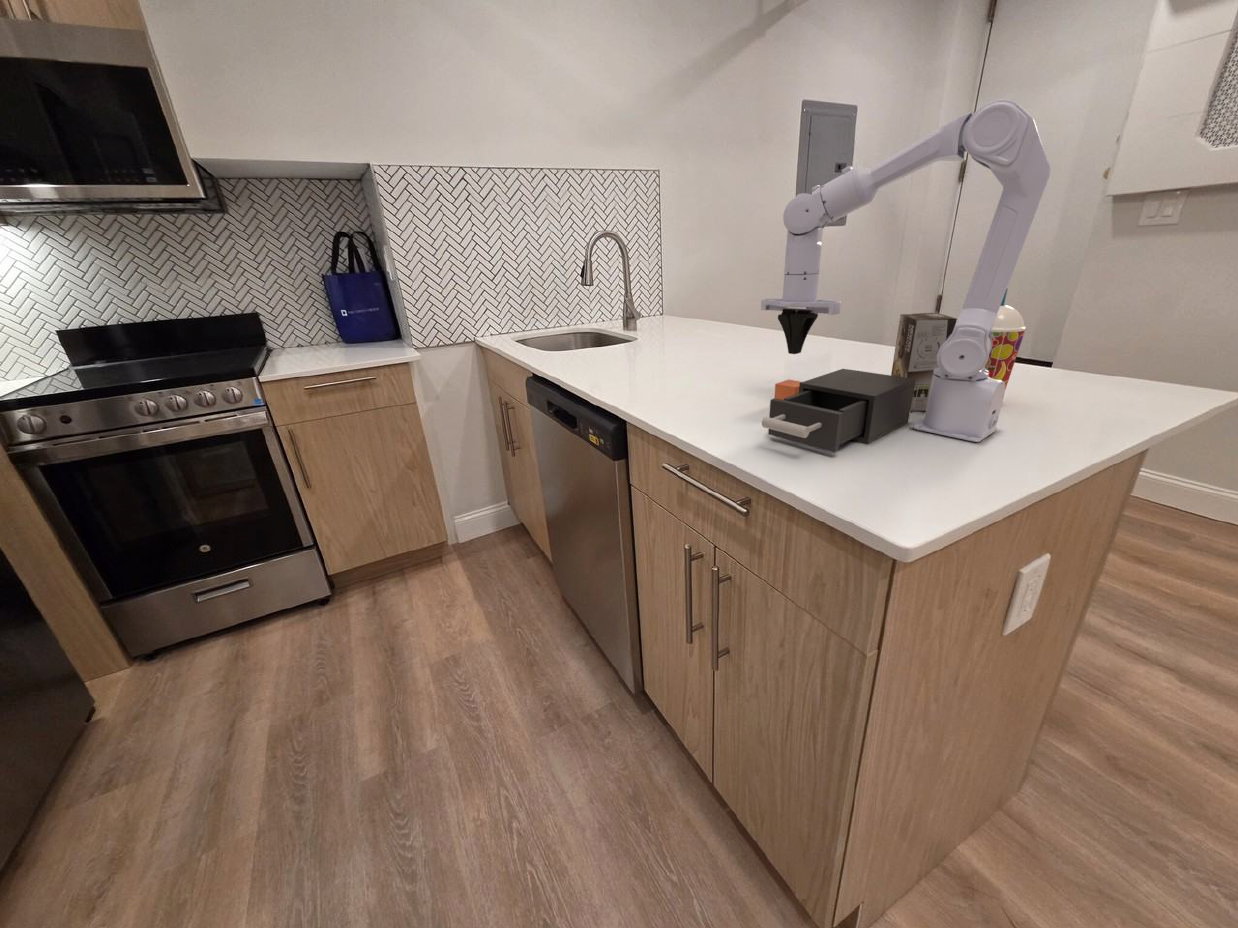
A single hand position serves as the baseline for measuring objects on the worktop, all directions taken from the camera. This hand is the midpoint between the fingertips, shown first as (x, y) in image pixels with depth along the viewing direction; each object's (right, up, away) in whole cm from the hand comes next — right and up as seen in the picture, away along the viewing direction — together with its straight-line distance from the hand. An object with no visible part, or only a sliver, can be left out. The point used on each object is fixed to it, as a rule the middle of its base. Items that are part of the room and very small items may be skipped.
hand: (794, 353), depth 92 cm
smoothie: (+35, -9, +1) cm, 36 cm away
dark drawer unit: (+7, -14, -6) cm, 17 cm away
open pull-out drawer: (-2, -16, -13) cm, 21 cm away
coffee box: (+23, -9, +2) cm, 25 cm away
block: (+1, -9, +6) cm, 11 cm away
